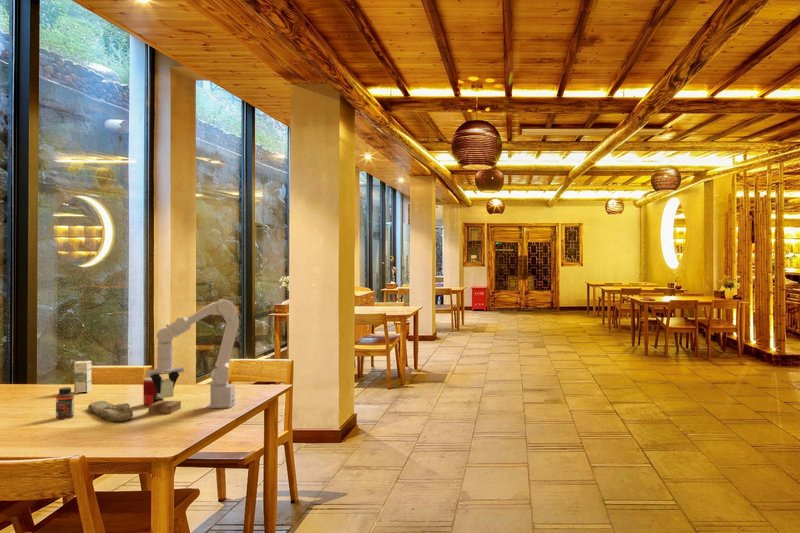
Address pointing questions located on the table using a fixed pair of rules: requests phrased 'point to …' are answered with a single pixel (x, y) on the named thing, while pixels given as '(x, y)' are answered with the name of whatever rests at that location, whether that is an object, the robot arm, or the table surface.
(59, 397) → the supplement bottle
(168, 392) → the cream cube with panel
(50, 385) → the table surface
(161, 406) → the walnut box
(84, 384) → the syrup box
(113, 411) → the long grey stone
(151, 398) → the canned food
